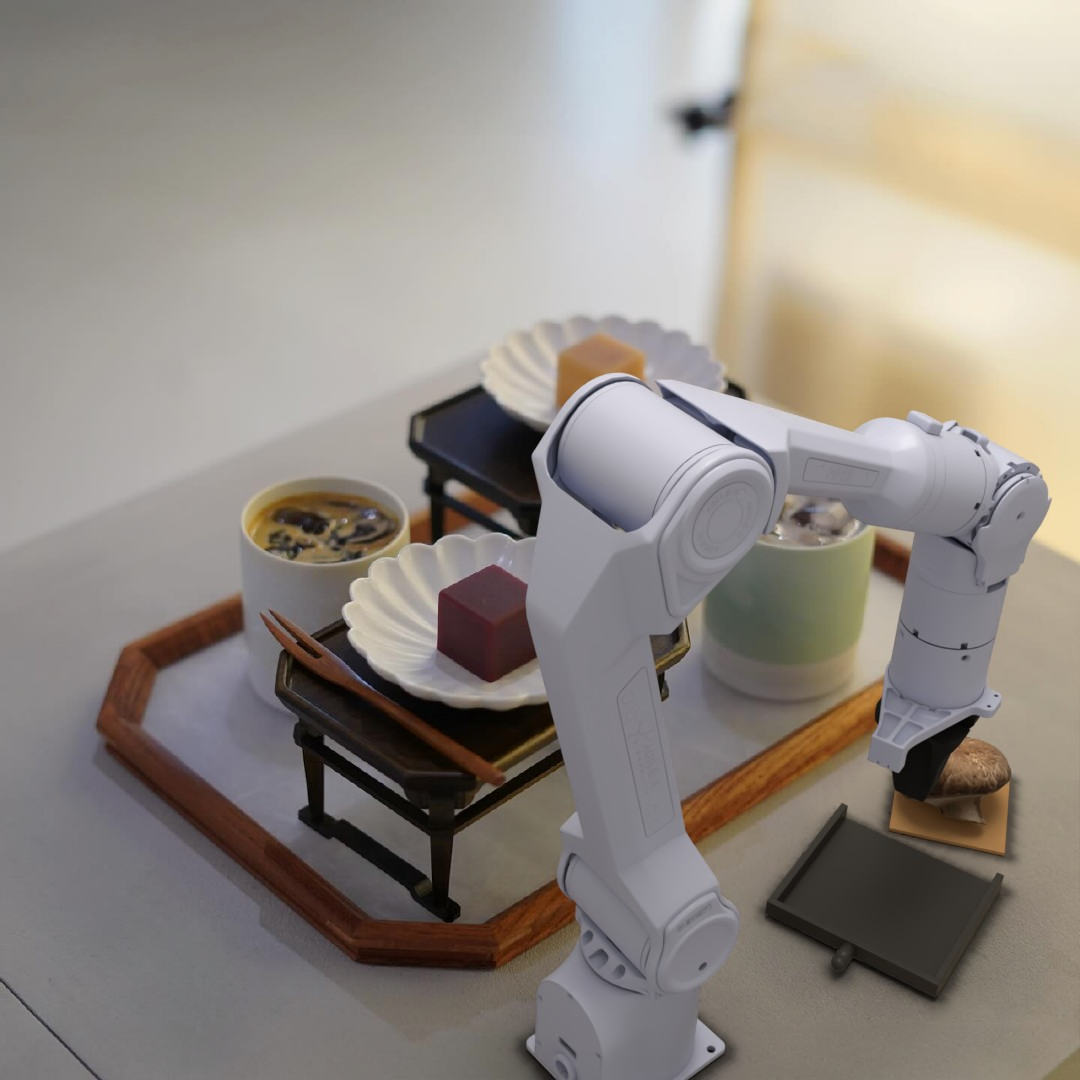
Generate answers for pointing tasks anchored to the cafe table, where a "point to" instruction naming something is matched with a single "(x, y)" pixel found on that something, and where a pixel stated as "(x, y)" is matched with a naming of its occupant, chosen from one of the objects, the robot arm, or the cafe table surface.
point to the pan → (883, 903)
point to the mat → (954, 822)
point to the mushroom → (969, 780)
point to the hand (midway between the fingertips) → (912, 790)
